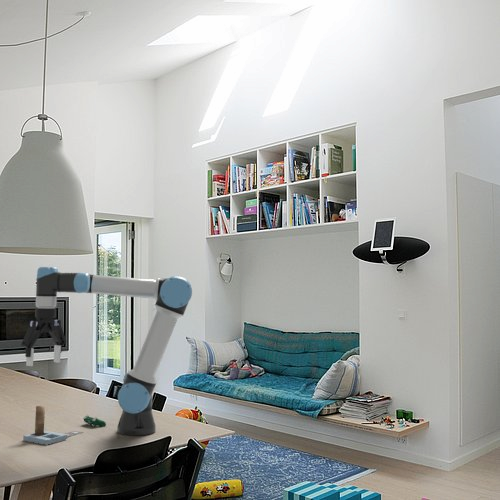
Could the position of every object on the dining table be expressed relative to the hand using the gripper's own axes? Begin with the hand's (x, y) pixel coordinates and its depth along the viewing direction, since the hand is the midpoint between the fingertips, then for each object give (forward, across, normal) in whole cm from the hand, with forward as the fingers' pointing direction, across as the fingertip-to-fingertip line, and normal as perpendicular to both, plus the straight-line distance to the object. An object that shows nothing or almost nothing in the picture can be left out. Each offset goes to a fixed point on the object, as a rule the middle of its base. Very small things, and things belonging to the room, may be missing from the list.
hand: (43, 364), depth 233 cm
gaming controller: (+28, -28, 0) cm, 40 cm away
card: (+28, -12, +4) cm, 30 cm away
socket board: (+28, 0, +3) cm, 28 cm away
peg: (+28, 0, 0) cm, 28 cm away
